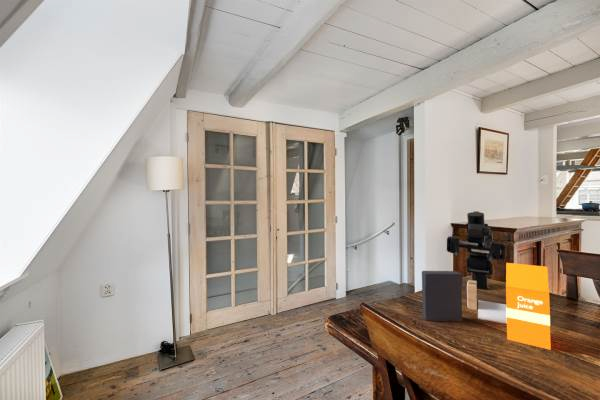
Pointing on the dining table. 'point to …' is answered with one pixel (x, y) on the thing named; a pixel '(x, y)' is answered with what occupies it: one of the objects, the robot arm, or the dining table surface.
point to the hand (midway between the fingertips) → (472, 257)
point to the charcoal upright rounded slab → (442, 295)
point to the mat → (492, 311)
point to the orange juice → (528, 304)
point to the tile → (472, 294)
